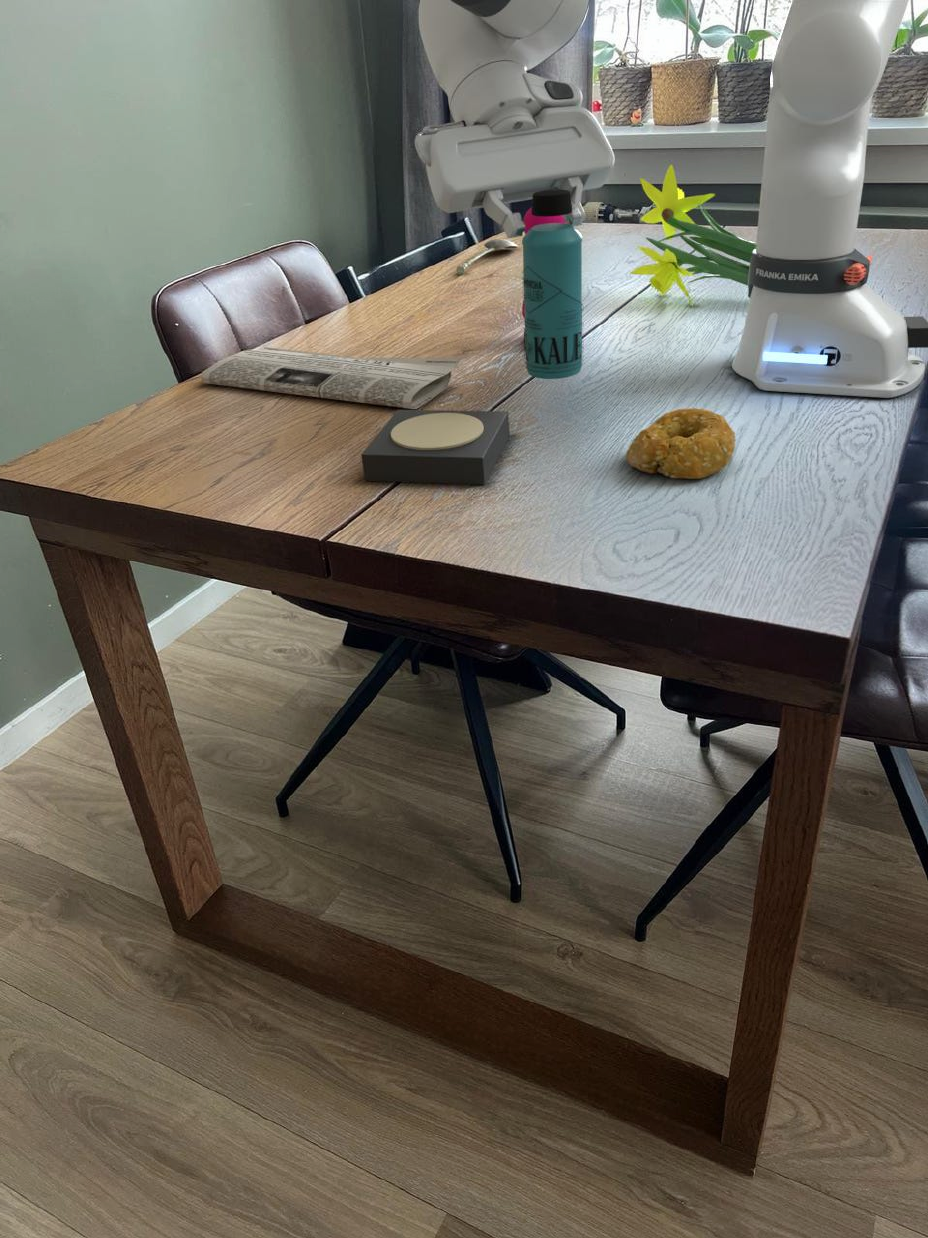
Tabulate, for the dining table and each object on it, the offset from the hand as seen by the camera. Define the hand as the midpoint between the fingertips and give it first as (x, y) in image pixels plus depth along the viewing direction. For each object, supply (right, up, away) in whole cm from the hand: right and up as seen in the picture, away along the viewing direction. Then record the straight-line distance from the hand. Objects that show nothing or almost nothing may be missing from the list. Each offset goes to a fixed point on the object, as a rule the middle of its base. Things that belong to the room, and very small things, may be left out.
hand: (548, 228), depth 98 cm
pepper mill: (+4, 0, +40) cm, 40 cm away
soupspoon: (-5, +29, +86) cm, 91 cm away
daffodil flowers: (+33, +9, +50) cm, 61 cm away
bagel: (+14, -24, 0) cm, 28 cm away
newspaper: (-26, -9, +30) cm, 41 cm away
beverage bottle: (+1, -14, +9) cm, 17 cm away
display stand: (-11, -23, +6) cm, 26 cm away
